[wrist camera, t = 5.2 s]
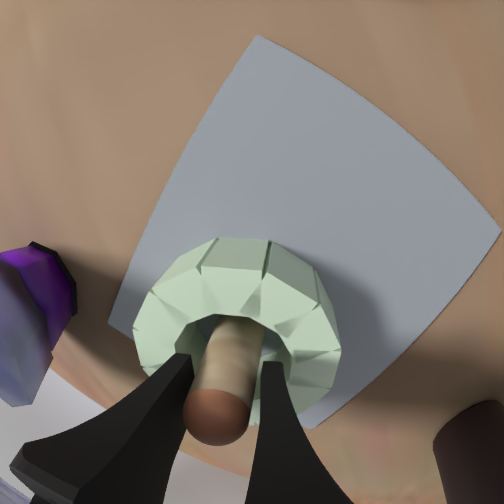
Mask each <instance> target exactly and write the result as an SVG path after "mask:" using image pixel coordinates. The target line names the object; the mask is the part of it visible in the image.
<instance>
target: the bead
mask: <svg viewBox="0 0 504 504" xmlns="http://www.w3.org/2000/svg"><path fill="white" fill-rule="evenodd" d="M211 314H223V315H234V316H244V317H250V318H252V319H253V320H255V321H257V322H259V323H260V324H262V325H264V326H266V327H267V328H269V329H271V330H273V331H275V332H276V333H278V334H279V336H280V337H281V339H282V340H283V342H284V344H283V345H282V346H281V347H280V348H279V349H278V351H277V352H274V353H271V354H268V355H265V356H262V357H261V358H260V364H259V370H258V376H257V381H256V387H255V393H254V399H253V405H252V410H251V416H250V421H249V425H251V426H254V424H255V423H256V424H257V425H258V426H259V422H260V378H261V370H262V365H263V361H280V362H282V363H283V364H284V365H283V367H284V376H285V381H286V385H287V389H288V392H289V395H290V398H291V401H292V404H293V407H294V410H295V412H296V415H297V413H298V414H300V415H301V414H302V413H303V412H305V411H306V410H307V409H308V408H310V407H311V406H312V405H313V404H315V403H316V402H317V401H318V400H319V399H321V398H322V397H323V396H324V395H325V394H326V393H328V392H329V391H330V388H332V385H333V382H334V378H335V375H336V371H337V367H338V363H339V359H340V355H341V344H340V339H339V334H338V329H337V324H336V319H335V314H334V309H333V305H332V303H331V301H330V299H329V297H328V295H327V293H326V291H325V288H324V286H323V284H322V282H321V280H320V278H319V276H318V274H317V272H316V270H314V271H313V266H311V265H309V264H308V263H306V262H305V261H303V260H302V259H300V258H298V257H297V256H295V255H294V254H292V253H291V252H289V251H287V250H286V249H284V248H283V247H281V246H279V245H278V244H276V243H275V242H272V243H271V245H270V246H269V248H268V240H262V239H246V238H230V237H220V238H219V240H217V239H216V238H215V239H213V240H211V241H209V242H207V243H205V244H203V245H201V246H199V247H197V248H195V249H193V250H191V251H189V252H187V253H185V254H183V255H182V256H180V257H178V258H177V259H176V260H175V261H174V262H173V264H172V265H171V266H170V267H169V268H168V269H167V270H166V272H165V273H164V274H163V275H162V276H161V277H160V279H159V280H158V281H157V282H156V283H155V284H154V286H153V287H152V288H151V289H150V290H149V292H148V294H147V296H146V298H145V300H144V302H143V305H142V307H141V309H140V311H139V313H138V315H137V318H136V320H135V322H134V324H133V327H134V328H133V335H134V339H135V343H136V348H137V352H138V356H139V360H140V364H141V366H144V368H143V370H144V371H145V372H146V373H147V374H148V376H149V377H150V376H151V375H152V374H153V373H154V372H155V371H156V370H157V369H158V368H159V367H161V366H162V365H163V364H164V363H165V362H166V361H167V360H168V359H169V358H170V357H171V356H172V355H173V354H175V353H183V354H191V357H192V363H193V369H194V374H195V375H196V373H197V370H198V368H199V365H200V363H201V360H202V358H203V355H204V353H205V350H206V348H207V345H208V342H207V341H206V339H205V338H204V337H203V335H202V334H201V332H200V331H199V330H198V328H197V327H196V320H199V319H201V318H204V317H206V316H209V315H211Z"/></svg>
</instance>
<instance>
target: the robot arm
mask: <svg viewBox="0 0 504 504" xmlns="http://www.w3.org/2000/svg"><path fill="white" fill-rule="evenodd" d="M283 365H284V364H283V363H282V362H280V361H263V365H262V370H261V378H260V422H259V432H258V438H257V444H256V450H255V455H254V461H253V466H252V471H251V476H250V481H249V487H248V491H247V496H246V500H245V504H354V503H353V502H352V501H351V500H350V499H349V498H348V496H347V495H346V494H345V493H344V492H343V491H342V489H341V488H340V487H339V486H338V485H337V483H336V482H335V481H334V479H333V478H332V477H331V475H330V474H329V472H328V471H327V470H326V468H325V467H324V465H323V464H322V462H321V461H320V459H319V458H318V456H317V454H316V453H315V451H314V449H313V448H312V446H311V444H310V442H309V440H308V439H307V437H306V435H305V433H304V431H303V428H302V426H301V424H300V422H299V420H298V417H297V415H296V412H295V410H294V407H293V404H292V401H291V398H290V395H289V392H288V389H287V385H286V381H285V376H284V367H283ZM194 378H195V374H194V369H193V363H192V357H191V354H183V353H175V354H173V355H172V356H171V357H170V358H169V359H168V360H167V361H166V362H165V363H164V364H163V365H162V366H161V367H159V368H158V369H157V370H156V371H155V372H154V373H153V374H152V375H151V376H150V377H149V378H147V379H146V380H145V381H144V382H143V383H142V384H141V385H139V386H138V387H137V388H136V389H135V390H133V391H132V392H131V393H130V394H128V395H127V396H126V397H124V398H123V399H122V400H121V401H119V402H118V403H116V404H115V405H113V406H112V407H111V408H109V409H107V410H106V411H104V412H103V413H101V414H99V415H98V416H96V417H94V418H92V419H90V420H88V421H86V422H84V423H82V424H80V425H78V426H76V427H74V428H72V429H69V430H67V431H64V432H61V433H59V434H56V435H53V436H50V437H47V438H43V439H39V440H35V441H31V442H27V443H25V444H24V445H23V446H22V448H21V449H20V450H19V452H18V454H17V455H16V457H15V458H14V459H13V461H12V463H11V464H10V465H9V467H10V470H11V471H12V473H13V474H14V475H15V476H16V477H17V478H18V479H19V480H20V481H22V483H24V484H25V485H26V486H27V487H28V488H29V489H30V490H31V491H33V492H34V493H35V494H34V496H33V498H32V500H31V499H29V498H28V497H26V496H25V495H23V494H22V493H20V492H19V491H18V490H16V489H15V488H13V487H12V486H10V485H9V484H8V483H7V482H5V481H4V480H3V479H1V478H0V504H163V501H164V496H165V492H166V488H167V484H168V480H169V476H170V472H171V468H172V465H173V462H174V459H175V457H176V454H177V452H178V449H179V447H180V444H181V442H182V439H183V437H184V434H185V432H186V429H187V428H186V426H185V424H184V421H183V406H184V403H185V401H186V398H187V395H188V393H189V390H190V388H191V385H192V383H193V380H194Z"/></svg>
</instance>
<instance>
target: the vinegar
mask: <svg viewBox="0 0 504 504" xmlns="http://www.w3.org/2000/svg"><path fill="white" fill-rule="evenodd" d="M433 451H434V455H435V458H436V462H437V465H438V469H439V473H440V477H441V480H442V484H443V488H444V492H445V497H446V501H447V504H504V407H503V406H502V404H501V403H499V402H497V401H487V402H483V403H480V404H477V405H475V406H473V407H471V408H469V409H467V410H465V411H464V412H462V413H461V414H459V415H458V416H456V417H454V418H453V419H452V420H451V421H450V422H449V423H447V424H446V425H445V426H444V427H443V428H442V429H441V430H440V432H439V433H438V434H437V436H436V438H435V440H434V441H433Z"/></svg>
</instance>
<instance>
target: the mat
mask: <svg viewBox="0 0 504 504" xmlns="http://www.w3.org/2000/svg"><path fill="white" fill-rule="evenodd" d="M501 231H502V229H501V228H500V227H499V226H498V224H497V223H496V222H495V221H494V219H493V218H492V217H491V216H490V215H489V213H488V212H487V211H486V210H485V209H484V207H483V206H482V205H481V204H480V203H479V202H478V201H477V199H476V198H475V197H474V196H473V195H472V194H471V193H470V192H469V191H468V189H467V188H466V187H465V186H464V185H463V184H462V183H461V182H460V181H459V180H458V179H457V178H456V177H455V176H454V175H453V174H452V173H451V172H450V171H449V170H448V169H447V168H446V167H445V166H444V165H443V164H442V163H441V162H440V161H439V160H438V159H437V158H436V157H435V156H434V155H433V154H432V153H431V152H429V151H428V150H427V149H426V148H425V147H424V146H423V145H422V144H421V143H420V142H418V141H417V140H416V139H415V138H414V137H413V136H412V135H410V134H409V133H408V132H407V131H406V130H404V129H403V128H402V127H401V126H400V125H398V124H397V123H396V122H395V121H394V120H392V119H391V118H390V117H388V116H387V115H386V114H385V113H383V112H382V111H381V110H379V109H378V108H377V107H376V106H374V105H373V104H371V103H370V102H369V101H367V100H366V99H365V98H363V97H362V96H360V95H359V94H358V93H356V92H355V91H353V90H352V89H350V88H349V87H348V86H346V85H345V84H343V83H342V82H340V81H339V80H337V79H335V78H334V77H332V76H331V75H329V74H328V73H326V72H324V71H323V70H321V69H320V68H318V67H316V66H315V65H313V64H311V63H310V62H308V61H306V60H304V59H303V58H301V57H299V56H297V55H296V54H294V53H292V52H290V51H288V50H287V49H285V48H283V47H281V46H279V45H277V44H275V43H273V42H271V41H269V40H267V39H265V38H263V37H261V36H259V35H256V37H255V38H254V39H253V41H252V42H251V44H250V45H249V46H248V48H247V49H246V51H245V52H244V54H243V55H242V57H241V58H240V60H239V61H238V62H237V64H236V65H235V67H234V68H233V70H232V72H231V73H230V75H229V76H228V78H227V79H226V81H225V82H224V84H223V85H222V87H221V89H220V90H219V92H218V93H217V95H216V97H215V98H214V100H213V102H212V103H211V105H210V106H209V108H208V110H207V111H206V113H205V115H204V117H203V118H202V120H201V122H200V123H199V125H198V127H197V129H196V130H195V132H194V134H193V136H192V137H191V139H190V141H189V143H188V145H187V146H186V148H185V150H184V152H183V154H182V156H181V157H180V159H179V161H178V163H177V165H176V167H175V169H174V171H173V173H172V175H171V176H170V178H169V180H168V182H167V184H166V186H165V188H164V190H163V192H162V194H161V196H160V198H159V201H158V203H157V205H156V207H155V209H154V211H153V213H152V215H151V217H150V219H149V222H148V224H147V226H146V228H145V230H144V233H143V235H142V237H141V239H140V242H139V244H138V246H137V248H136V251H135V253H134V255H133V258H132V260H131V263H130V265H129V267H128V270H127V272H126V275H125V277H124V280H123V282H122V285H121V287H120V290H119V292H118V295H117V298H116V300H115V303H114V306H113V308H112V311H111V314H110V317H109V319H108V322H107V323H108V324H109V325H111V326H112V327H114V328H115V329H117V330H118V331H120V332H121V333H123V334H124V335H126V336H127V337H129V338H130V339H132V340H133V341H135V339H134V335H133V328H134V327H133V324H134V322H135V320H136V318H137V315H138V313H139V311H140V309H141V307H142V305H143V302H144V300H145V298H146V296H147V294H148V292H149V290H150V289H151V288H152V287H153V286H154V284H155V283H156V282H157V281H158V280H159V279H160V277H161V276H162V275H163V274H164V273H165V272H166V270H167V269H168V268H169V267H170V266H171V265H172V264H173V262H174V261H175V260H176V259H177V258H178V257H180V256H182V255H183V254H185V253H187V252H189V251H191V250H193V249H195V248H197V247H199V246H201V245H203V244H205V243H207V242H209V241H211V240H213V239H215V238H216V239H217V240H219V238H220V237H230V238H246V239H262V240H268V248H269V246H270V245H271V243H272V242H275V243H276V244H278V245H279V246H281V247H283V248H284V249H286V250H287V251H289V252H291V253H292V254H294V255H295V256H297V257H298V258H300V259H302V260H303V261H305V262H306V263H308V264H309V265H311V266H313V271H314V270H316V272H317V274H318V276H319V278H320V280H321V282H322V284H323V286H324V288H325V291H326V293H327V295H328V297H329V299H330V301H331V303H332V305H333V309H334V314H335V319H336V324H337V329H338V334H339V339H340V344H341V355H340V359H339V363H338V367H337V371H336V375H335V378H334V382H333V385H332V388H330V391H329V392H328V393H326V394H325V395H324V396H323V397H322V398H321V399H319V400H318V401H317V402H316V403H315V404H313V405H312V406H311V407H310V408H308V409H307V410H306V411H305V412H303V413H302V414H301V415H300V414H298V413H297V417H298V420H299V422H300V424H301V426H302V427H305V428H308V429H310V430H312V429H313V428H314V427H316V426H317V425H318V424H320V423H321V422H323V421H324V420H325V419H327V418H328V417H329V416H330V415H332V414H333V413H334V412H336V411H337V410H338V409H339V408H341V407H342V406H343V405H344V404H346V403H347V402H348V401H349V400H351V399H352V398H353V397H354V396H355V395H357V394H358V393H359V392H360V391H361V390H363V389H364V388H365V387H366V386H367V385H368V384H370V383H371V382H372V381H373V380H374V379H375V378H376V377H377V376H379V375H380V374H381V373H382V372H383V371H384V370H385V369H386V368H387V367H388V366H389V365H390V364H391V363H393V362H394V361H395V360H396V359H397V358H398V357H399V356H400V355H401V354H402V353H403V352H404V351H405V350H406V349H407V348H408V347H409V346H410V345H411V344H412V343H413V342H414V341H415V340H416V339H417V338H418V337H419V335H420V334H421V333H422V332H423V331H424V330H425V329H426V328H427V327H428V326H429V325H430V324H431V322H432V321H433V320H434V319H435V318H436V317H437V316H438V315H439V313H440V312H441V311H442V310H443V309H444V308H445V307H446V305H447V304H448V303H449V302H450V301H451V299H452V298H453V297H454V296H455V295H456V293H457V292H458V291H459V290H460V288H461V287H462V286H463V285H464V283H465V282H466V281H467V279H468V278H469V277H470V275H471V274H472V273H473V271H474V270H475V269H476V267H477V266H478V265H479V263H480V262H481V261H482V259H483V258H484V256H485V255H486V253H487V252H488V251H489V249H490V248H491V246H492V245H493V243H494V242H495V240H496V239H497V237H498V236H499V234H500V233H501ZM219 315H220V314H211V315H209V316H206V317H204V318H201V319H199V320H196V327H197V328H198V330H199V331H200V332H201V334H202V335H203V337H204V338H205V339H206V341H207V342H208V343H209V340H210V338H211V335H212V333H213V330H214V328H215V325H216V323H217V320H218V318H219ZM283 344H284V342H283V340H282V339H281V337H280V336H279V334H278V333H276V332H275V331H273V330H271V329H269V328H267V327H265V333H264V339H263V345H262V351H261V357H262V356H265V355H268V354H271V353H274V352H277V351H278V349H279V348H280V347H281V346H282V345H283Z"/></svg>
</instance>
